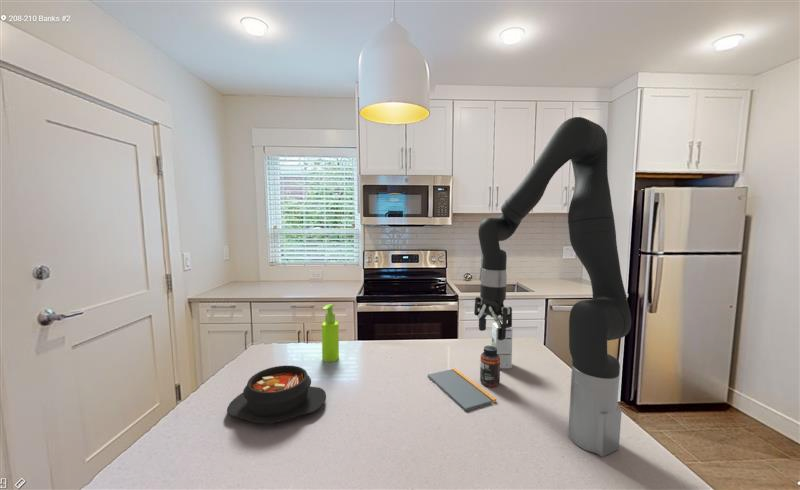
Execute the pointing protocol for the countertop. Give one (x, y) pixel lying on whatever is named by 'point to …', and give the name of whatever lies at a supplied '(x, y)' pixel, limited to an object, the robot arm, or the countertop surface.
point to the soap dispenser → (330, 336)
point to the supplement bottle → (490, 367)
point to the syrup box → (503, 346)
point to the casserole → (277, 396)
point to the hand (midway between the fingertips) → (491, 334)
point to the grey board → (461, 389)
